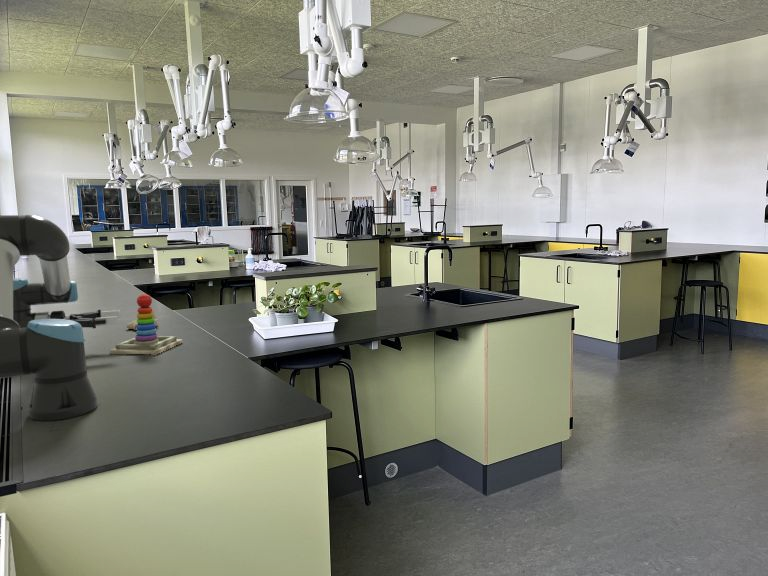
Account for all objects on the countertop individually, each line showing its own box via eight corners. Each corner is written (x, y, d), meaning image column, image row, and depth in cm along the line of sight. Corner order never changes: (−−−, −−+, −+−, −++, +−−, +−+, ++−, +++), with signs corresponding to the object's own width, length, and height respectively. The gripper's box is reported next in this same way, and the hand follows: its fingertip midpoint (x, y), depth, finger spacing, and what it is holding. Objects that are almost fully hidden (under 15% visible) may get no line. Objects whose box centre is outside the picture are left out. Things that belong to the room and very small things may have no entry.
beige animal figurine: (156, 323, 250) (162, 329, 242) (128, 333, 244) (132, 339, 236) (151, 308, 248) (157, 313, 240) (122, 317, 241) (127, 323, 233)
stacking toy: (157, 346, 203) (153, 295, 200) (134, 348, 200) (129, 296, 198) (159, 341, 210) (155, 292, 208) (136, 343, 208) (132, 293, 205)
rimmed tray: (155, 355, 195) (155, 346, 195) (109, 354, 198) (108, 345, 198) (182, 343, 213) (182, 335, 213) (139, 342, 216) (139, 334, 216)
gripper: (59, 326, 206) (122, 321, 213) (44, 340, 183) (116, 334, 190) (57, 306, 205) (120, 301, 212) (42, 317, 182) (114, 312, 189)
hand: (118, 317), depth 201 cm, fingers open, 13 cm apart
